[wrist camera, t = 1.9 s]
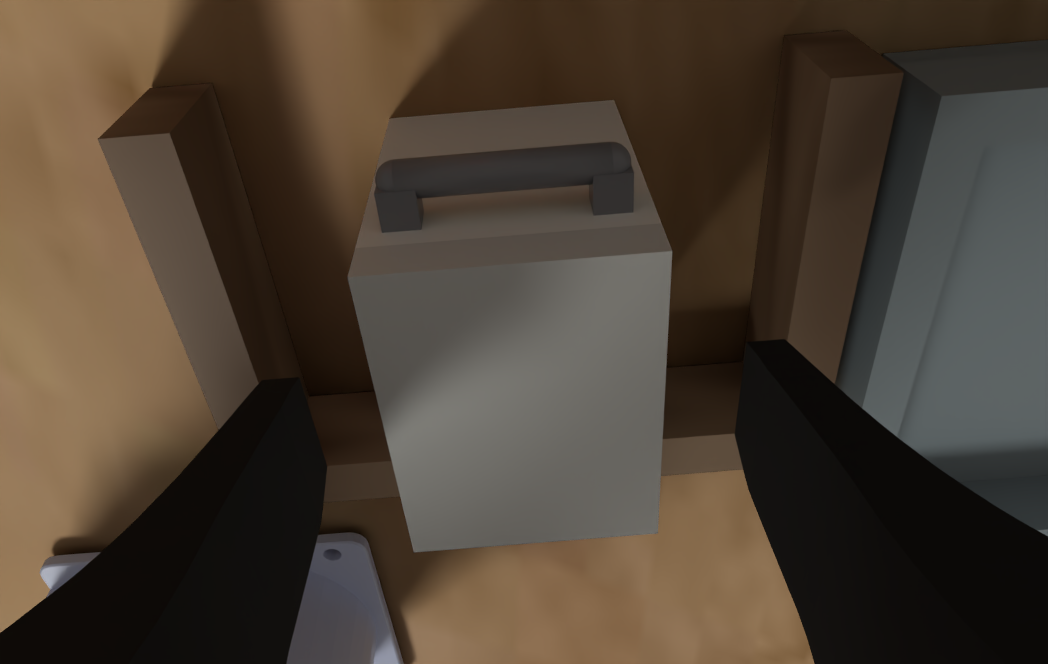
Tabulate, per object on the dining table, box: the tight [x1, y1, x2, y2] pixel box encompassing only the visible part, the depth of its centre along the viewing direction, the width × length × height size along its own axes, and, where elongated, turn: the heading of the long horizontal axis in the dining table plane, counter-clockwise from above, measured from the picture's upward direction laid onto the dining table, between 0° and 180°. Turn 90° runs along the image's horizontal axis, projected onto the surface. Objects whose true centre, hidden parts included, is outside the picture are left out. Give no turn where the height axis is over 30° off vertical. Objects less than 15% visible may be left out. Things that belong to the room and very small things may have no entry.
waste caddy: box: [347, 100, 672, 552], centre depth 15 cm, size 4×7×6 cm, turn 4°
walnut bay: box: [98, 30, 904, 503], centre depth 17 cm, size 13×9×2 cm
